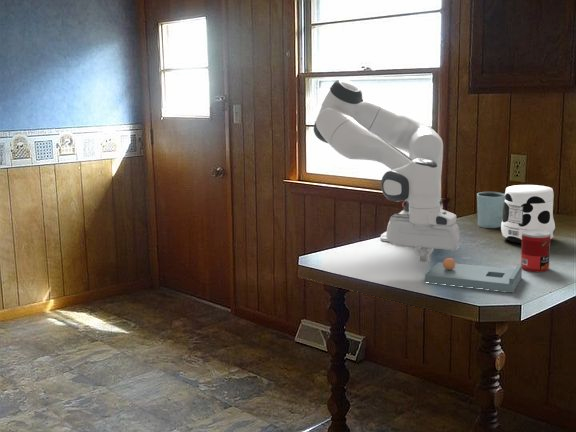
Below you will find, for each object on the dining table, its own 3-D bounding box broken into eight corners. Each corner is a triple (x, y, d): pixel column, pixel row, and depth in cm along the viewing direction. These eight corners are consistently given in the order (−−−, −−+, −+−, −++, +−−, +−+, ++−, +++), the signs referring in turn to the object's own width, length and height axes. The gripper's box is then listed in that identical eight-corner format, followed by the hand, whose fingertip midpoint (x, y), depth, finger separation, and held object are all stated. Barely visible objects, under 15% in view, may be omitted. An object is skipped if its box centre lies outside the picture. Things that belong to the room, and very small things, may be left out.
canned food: (545, 273, 199) (547, 236, 197) (517, 270, 203) (518, 234, 201) (551, 266, 206) (553, 230, 203) (524, 263, 210) (525, 228, 207)
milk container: (550, 234, 242) (552, 184, 238) (557, 247, 225) (560, 193, 221) (499, 233, 245) (500, 184, 242) (502, 246, 229) (504, 193, 225)
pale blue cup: (474, 222, 264) (475, 191, 261) (502, 222, 262) (502, 191, 260) (478, 228, 254) (478, 196, 251) (506, 228, 252) (507, 196, 250)
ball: (441, 270, 197) (441, 259, 196) (444, 267, 200) (444, 256, 200) (453, 272, 196) (453, 260, 195) (456, 268, 199) (456, 257, 198)
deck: (425, 283, 195) (425, 269, 194) (438, 269, 207) (438, 256, 206) (512, 293, 184) (513, 278, 183) (521, 278, 196) (522, 264, 195)
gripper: (386, 215, 200) (386, 261, 203) (456, 220, 190) (455, 268, 193) (393, 210, 205) (393, 255, 208) (462, 215, 196) (461, 262, 199)
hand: (424, 261), depth 201 cm, fingers closed
